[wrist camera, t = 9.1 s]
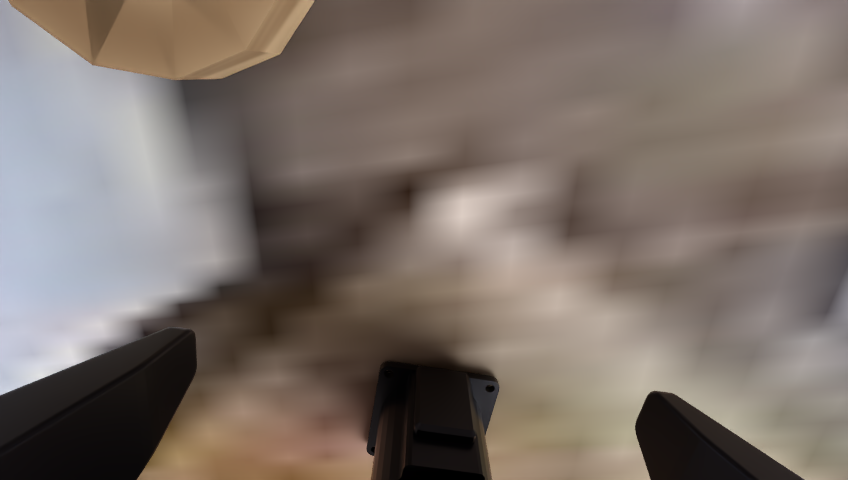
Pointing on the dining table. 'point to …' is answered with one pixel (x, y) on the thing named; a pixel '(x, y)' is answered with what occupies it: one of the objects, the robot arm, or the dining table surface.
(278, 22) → the wooden bead
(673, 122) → the dining table surface
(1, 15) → the dining table surface
